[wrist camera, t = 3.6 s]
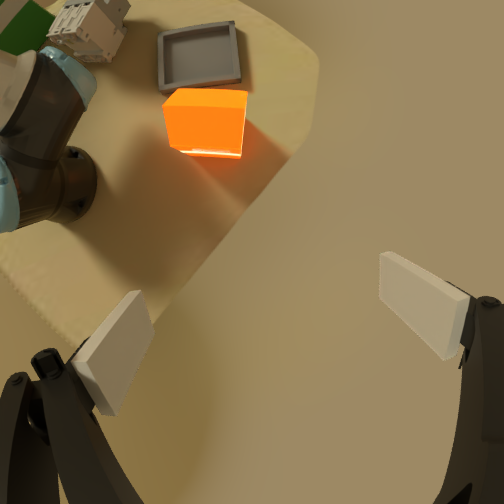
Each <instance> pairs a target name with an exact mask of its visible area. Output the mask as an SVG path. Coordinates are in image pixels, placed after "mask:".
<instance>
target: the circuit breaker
mask: <svg viewBox="0 0 504 504" xmlns="http://www.w3.org/2000/svg"><path fill="white" fill-rule="evenodd" d="M130 7H131V5H130V4H129V2H128V1H127V0H67V1H66V3H65V4H64V6H63V7H62V9H61V10H60V12H59V14H58V15H57V17H56V19H55V20H54V22H53V24H52V26H51V27H50V29H49V31H50V32H49V34H48V35H46V37H49V38H50V40H51V41H52V42H54V43H55V44H57V45H61V44H65V45H67V46H68V47H70V48H71V49H73V50H74V51H75V52H74V54H73V55H74V56H75V57H77V58H78V59H80V60H83V62H107V63H112V58H113V57H115V54H116V52H117V50H118V48H119V46H120V44H121V42H122V40H123V38H124V36H125V34H126V32H127V29H126V27H125V26H122V25H123V24H122V20H123V19H124V17H125V15H126V13H127V12H128V10H129V8H130ZM56 39H57V40H56ZM80 56H81V57H80Z"/></svg>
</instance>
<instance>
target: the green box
mask: <svg viewBox="0 0 504 504" xmlns="http://www.w3.org/2000/svg"><path fill="white" fill-rule="evenodd" d="M55 19H56V17H54V16H53V15H52V14H51V13H49V12H48V11H47V10H45V9H44V8H43V7H41V6H40V5H39V4H37V3H36V2H34V1H33V0H0V50H2V51H5V52H7V53H10V54H12V55H15V56H19V55H21V54H23V53H25V52H27V51H29V50H34V51H37V50H38V49H39V48H40V47H41V45H42V44H43V43H44V42H45V41H46V40H47V38H48V37H46V35H48V34H49V32H50V31H49V29H50V27H51V26H52V24H53V22H54V20H55Z"/></svg>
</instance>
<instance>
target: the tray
mask: <svg viewBox="0 0 504 504" xmlns="http://www.w3.org/2000/svg"><path fill="white" fill-rule="evenodd" d="M158 83H159V92H160V93H161V94H162V95H164V94H169V93H174V92H175V91H176V90H177V89H196V88H202V87H209V86H217V85H225V84H234V83H241V74H240V65H239V57H238V48H237V39H236V31H235V23H234V21H225V22H216V23H208V24H201V25H195V26H189V27H184V28H178V29H173V30H169V31H164V32H160V33H158Z"/></svg>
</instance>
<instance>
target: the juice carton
mask: <svg viewBox="0 0 504 504" xmlns="http://www.w3.org/2000/svg"><path fill="white" fill-rule="evenodd" d="M246 100H247V91H238V90H222V89H177V90H176V91H175V92H174V93H173V95H172V96H171V97H170V98H169V99H168V100H167V101H166V102H165V103H164V104H163V111H164V116H165V122H166V127H167V132H168V136H169V141H170V146H171V147H173V148H175V149H177V150H179V151H181V152H183V153H186V154H188V155H190V156H208V157H224V158H237V159H240V157H241V150H242V140H243V131H244V121H245V112H246Z"/></svg>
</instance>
